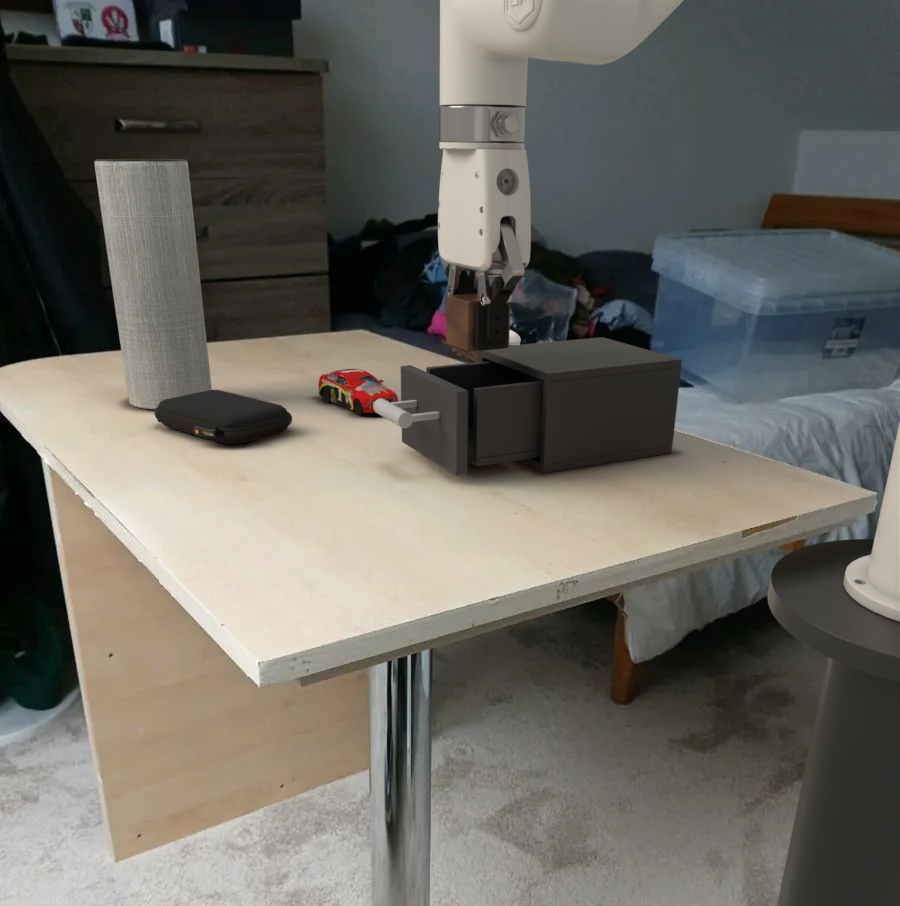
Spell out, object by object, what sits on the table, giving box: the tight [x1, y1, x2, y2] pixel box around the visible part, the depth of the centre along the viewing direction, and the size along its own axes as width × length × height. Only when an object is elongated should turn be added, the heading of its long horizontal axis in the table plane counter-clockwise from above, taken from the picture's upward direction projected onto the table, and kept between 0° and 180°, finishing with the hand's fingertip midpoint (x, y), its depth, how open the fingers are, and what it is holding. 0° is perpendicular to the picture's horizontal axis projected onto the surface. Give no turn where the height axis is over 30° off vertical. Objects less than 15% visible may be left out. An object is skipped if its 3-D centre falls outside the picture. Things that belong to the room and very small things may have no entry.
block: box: [445, 292, 512, 353], centre depth 89 cm, size 4×4×4 cm
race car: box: [318, 368, 399, 416], centre depth 114 cm, size 13×5×4 cm, turn 35°
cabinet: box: [478, 336, 683, 474], centre depth 98 cm, size 16×14×10 cm
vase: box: [94, 158, 213, 411], centre depth 111 cm, size 10×10×27 cm
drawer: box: [373, 361, 544, 476], centre depth 93 cm, size 19×12×8 cm, turn 117°
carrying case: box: [153, 389, 293, 445], centre depth 104 cm, size 11×3×15 cm
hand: (477, 341), depth 90 cm, fingers closed on block, 4 cm apart
